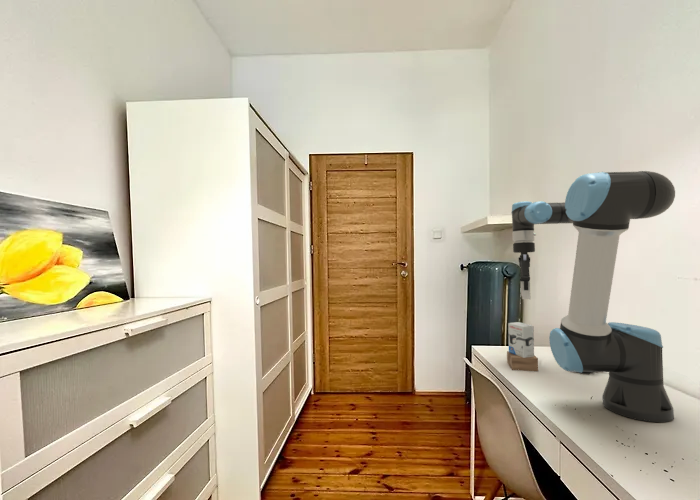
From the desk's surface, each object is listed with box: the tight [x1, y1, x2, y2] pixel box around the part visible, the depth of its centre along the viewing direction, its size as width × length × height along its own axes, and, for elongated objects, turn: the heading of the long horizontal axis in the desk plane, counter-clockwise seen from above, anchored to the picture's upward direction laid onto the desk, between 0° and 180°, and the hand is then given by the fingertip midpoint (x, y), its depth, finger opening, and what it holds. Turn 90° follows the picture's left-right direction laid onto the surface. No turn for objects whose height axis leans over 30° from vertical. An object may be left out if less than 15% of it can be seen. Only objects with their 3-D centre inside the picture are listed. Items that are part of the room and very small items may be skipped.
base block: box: [506, 350, 539, 372], centre depth 136 cm, size 9×9×5 cm
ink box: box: [507, 321, 535, 358], centre depth 136 cm, size 8×5×12 cm, turn 15°
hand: (525, 297), depth 135 cm, fingers open, 13 cm apart
